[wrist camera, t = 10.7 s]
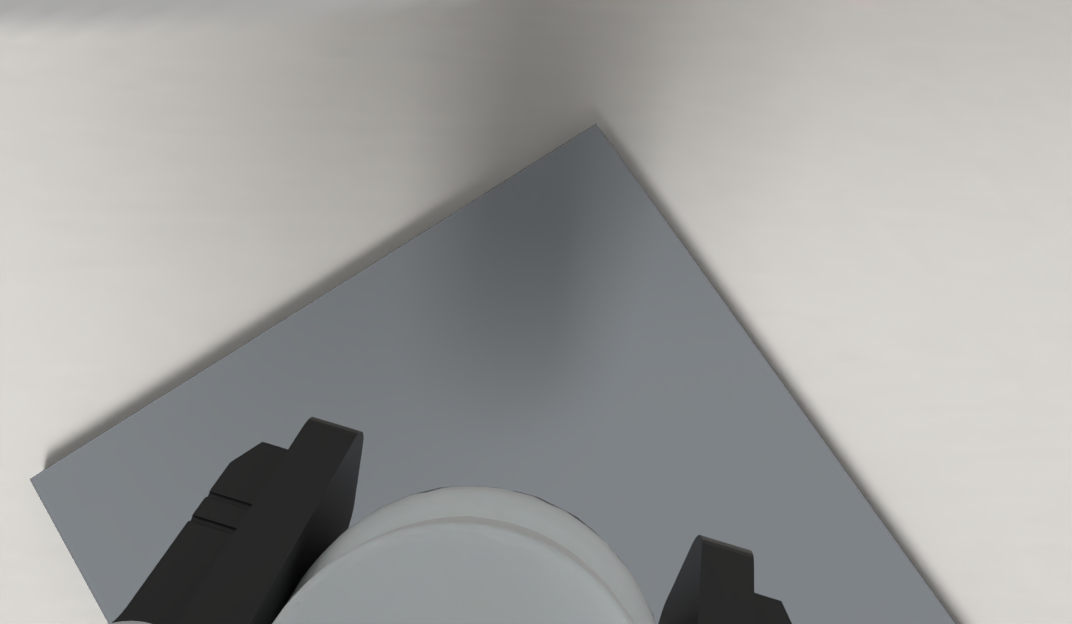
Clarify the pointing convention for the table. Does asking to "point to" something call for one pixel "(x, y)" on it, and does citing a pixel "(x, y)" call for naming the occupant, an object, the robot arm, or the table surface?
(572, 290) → the rubber mat
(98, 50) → the table surface
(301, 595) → the pill bottle
